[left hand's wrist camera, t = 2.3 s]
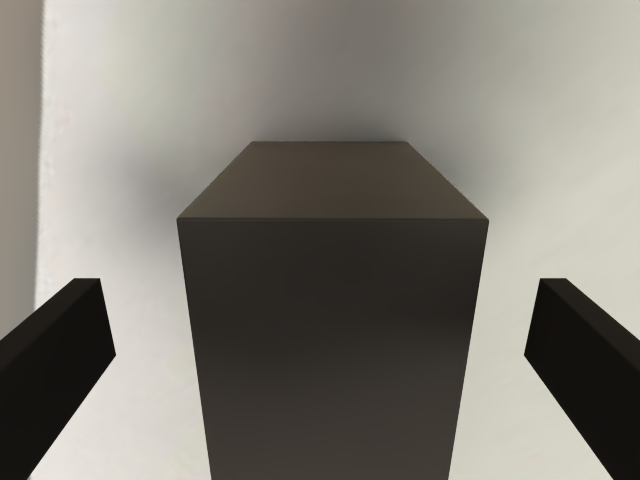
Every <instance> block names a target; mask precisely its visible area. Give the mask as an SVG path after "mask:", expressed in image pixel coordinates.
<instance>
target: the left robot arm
mask: <svg viewBox="0 0 640 480" xmlns="http://www.w3.org/2000/svg"><path fill="white" fill-rule="evenodd" d="M115 356H116V352H115V348H114V343H113V338H112V334H111V329H110V324H109V319H108V315H107V310H106V305H105V300H104V296H103V291H102V286H101V281H100V278H74V279H73V280H72V281H70V282H69V283H68V284H67V285H66V286H64V287H63V288H62V289H61V290H60V291H59V292H57V293H56V294H55V295H54V296H53V297H51V298H50V299H49V300H48V301H47V302H45V303H44V304H43V305H42V306H41V307H40V308H38V309H37V310H36V311H35V312H34V313H32V314H31V315H30V316H29V317H28V318H26V319H25V320H24V321H23V322H22V323H21V324H19V325H18V326H17V327H16V328H15V329H13V330H12V331H11V332H10V333H9V334H8V335H6V336H5V337H4V338H3V339H2V340H0V480H27V478H28V477H29V476H30V474H31V473H32V472H33V470H34V469H35V467H36V466H37V465H38V463H39V462H40V460H41V459H42V458H43V456H44V455H45V453H46V452H47V451H48V449H49V448H50V446H51V445H52V444H53V442H54V441H55V440H56V438H57V437H58V435H59V434H60V433H61V431H62V430H63V428H64V427H65V426H66V424H67V423H68V421H69V420H70V419H71V417H72V416H73V414H74V413H75V412H76V410H77V409H78V408H79V406H80V405H81V403H82V402H83V401H84V399H85V398H86V396H87V395H88V394H89V392H90V391H91V389H92V388H93V387H94V385H95V384H96V382H97V381H98V380H99V378H100V377H101V376H102V374H103V373H104V371H105V370H106V369H107V367H108V366H109V364H110V363H111V362H112V360H113V359H114V357H115ZM524 356H525V357H526V359H527V360H528V362H529V363H530V364H531V366H532V367H533V369H534V370H535V371H536V373H537V374H538V376H539V377H540V378H541V380H542V381H543V382H544V384H545V385H546V387H547V388H548V389H549V391H550V392H551V394H552V395H553V396H554V398H555V399H556V401H557V402H558V403H559V405H560V406H561V408H562V409H563V410H564V412H565V413H566V414H567V416H568V417H569V419H570V420H571V421H572V423H573V424H574V426H575V427H576V428H577V430H578V431H579V433H580V434H581V435H582V437H583V438H584V440H585V441H586V442H587V444H588V445H589V446H590V448H591V449H592V451H593V452H594V453H595V455H596V456H597V458H598V459H599V460H600V462H601V463H602V465H603V466H604V467H605V469H606V470H607V472H608V473H609V474H610V476H611V477H612V479H613V480H640V340H638V339H637V338H636V337H635V336H634V335H633V334H631V333H630V332H629V331H628V330H627V329H625V328H624V327H623V326H622V325H621V324H619V323H618V322H617V321H616V320H615V319H614V318H612V317H611V316H610V315H609V314H608V313H606V312H605V311H604V310H603V309H602V308H600V307H599V306H598V305H597V304H596V303H595V302H593V301H592V300H591V299H590V298H589V297H587V296H586V295H585V294H584V293H583V292H581V291H580V290H579V289H578V288H577V287H576V286H574V285H573V284H572V283H571V282H570V281H568V280H567V279H566V278H540V281H539V286H538V291H537V296H536V300H535V305H534V310H533V315H532V319H531V324H530V329H529V334H528V338H527V343H526V348H525V352H524Z"/></svg>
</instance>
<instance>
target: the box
mask: <svg viewBox="0 0 640 480" xmlns="http://www.w3.org/2000/svg"><path fill="white" fill-rule="evenodd" d="M488 225H489V219H488V218H487V217H486V216H484V215H483V214H482V213H481V212H480V211H479V210H478V209H477V208H476V207H475V206H474V205H473V204H472V203H471V202H470V201H469V200H468V199H467V198H465V197H464V196H463V195H462V194H461V193H460V192H459V191H458V190H457V189H456V188H455V187H454V186H453V185H452V184H451V183H450V182H449V181H448V180H446V179H445V178H444V177H443V176H442V175H441V174H440V173H439V172H438V171H437V170H436V169H435V168H434V167H433V166H432V165H431V164H430V163H429V162H427V161H426V160H425V159H424V158H423V157H422V156H421V155H420V154H419V153H418V152H417V151H416V150H415V149H414V148H413V147H412V146H411V145H410V144H408V143H407V142H251V143H250V144H249V145H248V146H247V147H246V148H245V149H244V150H243V151H242V152H241V153H240V154H239V155H238V156H237V157H236V158H235V159H234V160H233V161H232V162H231V163H230V164H229V165H228V166H227V167H226V169H225V170H224V171H223V172H222V173H221V174H220V175H219V176H218V177H217V178H216V179H215V180H214V181H213V182H212V183H211V184H210V185H209V186H208V187H207V188H206V189H205V190H204V191H203V192H202V193H201V194H200V195H199V196H198V197H197V198H196V199H195V200H194V201H193V202H192V203H191V204H190V205H189V206H188V207H187V208H186V209H185V210H184V211H183V212H182V213H181V214H180V216H179V217H178V218H177V227H178V235H179V242H180V250H181V257H182V265H183V272H184V279H185V287H186V294H187V302H188V309H189V316H190V324H191V331H192V339H193V346H194V354H195V361H196V368H197V376H198V383H199V391H200V398H201V405H202V413H203V420H204V428H205V435H206V442H207V450H208V457H209V465H210V472H211V480H448V477H449V471H450V464H451V458H452V452H453V445H454V439H455V433H456V427H457V420H458V414H459V408H460V401H461V395H462V389H463V382H464V376H465V370H466V364H467V357H468V351H469V345H470V338H471V332H472V326H473V320H474V313H475V307H476V301H477V294H478V288H479V282H480V276H481V269H482V263H483V257H484V250H485V244H486V238H487V232H488Z"/></svg>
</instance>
